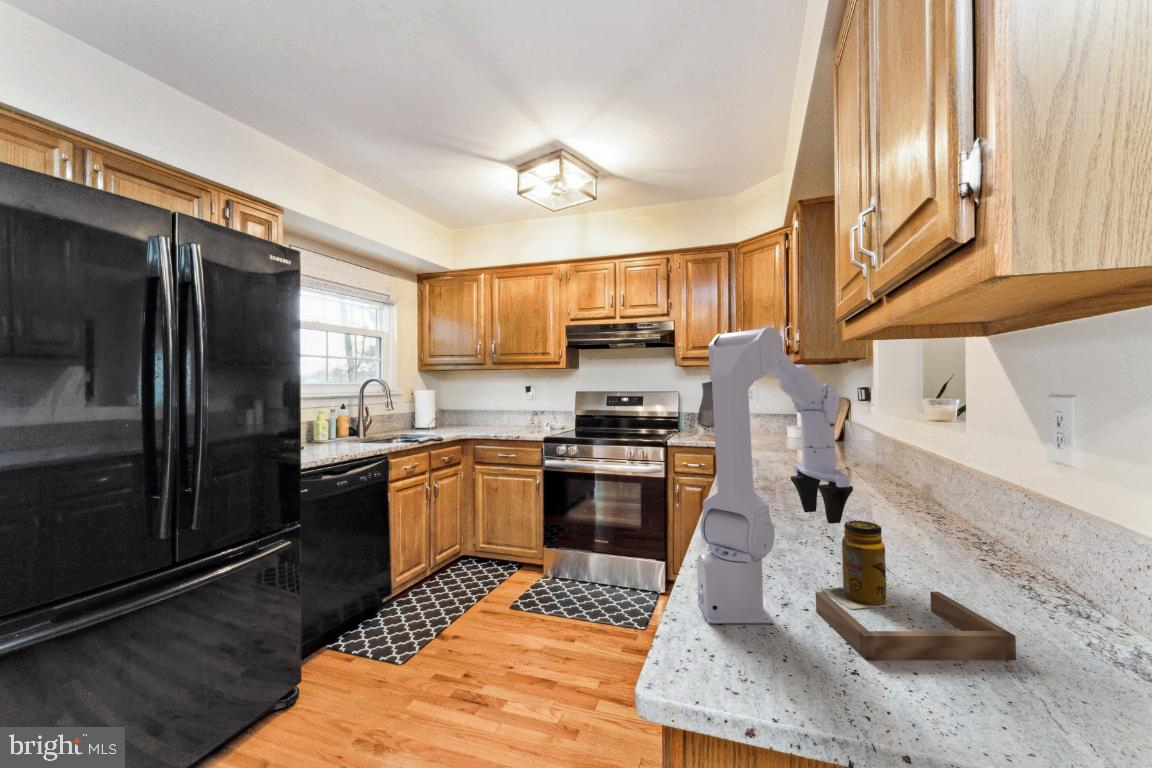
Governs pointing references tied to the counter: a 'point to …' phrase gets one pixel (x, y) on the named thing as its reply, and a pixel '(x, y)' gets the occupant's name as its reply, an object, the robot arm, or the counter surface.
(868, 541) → the condiment
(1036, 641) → the counter surface
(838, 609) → the box
